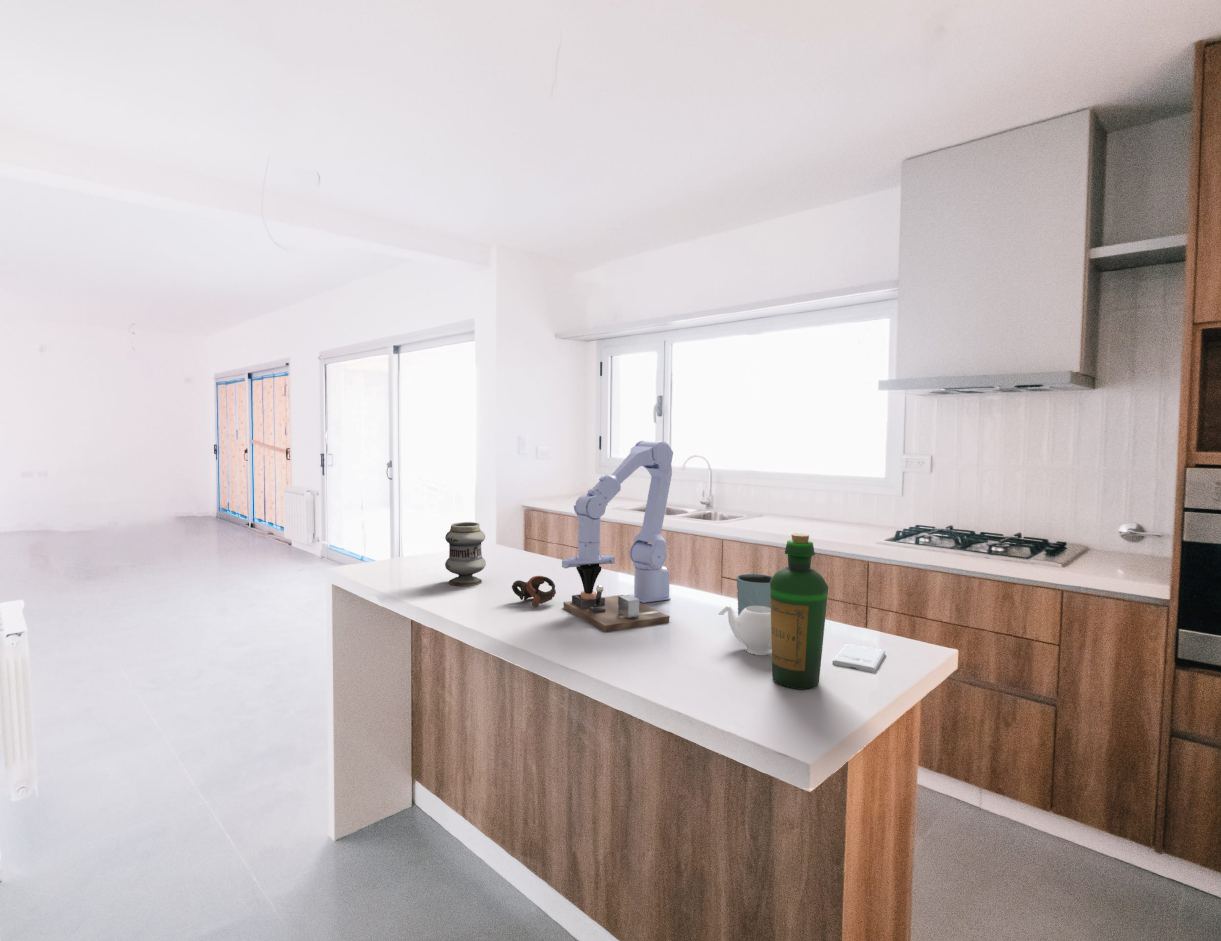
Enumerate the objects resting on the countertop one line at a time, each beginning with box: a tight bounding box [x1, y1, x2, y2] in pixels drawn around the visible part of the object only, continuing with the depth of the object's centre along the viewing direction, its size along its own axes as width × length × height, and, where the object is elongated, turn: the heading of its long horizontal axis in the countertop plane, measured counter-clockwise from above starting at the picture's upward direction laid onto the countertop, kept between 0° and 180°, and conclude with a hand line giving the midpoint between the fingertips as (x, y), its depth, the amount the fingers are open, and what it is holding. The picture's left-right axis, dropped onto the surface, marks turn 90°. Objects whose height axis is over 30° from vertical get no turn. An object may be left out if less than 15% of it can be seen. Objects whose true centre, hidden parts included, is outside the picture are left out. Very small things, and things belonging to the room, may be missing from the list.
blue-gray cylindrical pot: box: [736, 573, 773, 617], centre depth 157 cm, size 10×10×12 cm
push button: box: [580, 590, 597, 600], centre depth 170 cm, size 4×4×2 cm
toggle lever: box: [593, 585, 604, 607], centre depth 163 cm, size 2×2×6 cm
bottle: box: [770, 533, 829, 690], centre depth 123 cm, size 11×11×28 cm
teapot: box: [718, 605, 772, 656], centre depth 140 cm, size 10×20×9 cm, turn 49°
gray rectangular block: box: [618, 594, 640, 618], centre depth 160 cm, size 3×5×4 cm, turn 29°
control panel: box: [563, 593, 670, 633], centre depth 166 cm, size 18×23×4 cm
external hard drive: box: [832, 643, 886, 673], centre depth 136 cm, size 2×8×12 cm
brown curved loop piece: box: [511, 575, 557, 608], centre depth 176 cm, size 12×10×8 cm
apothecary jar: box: [444, 521, 487, 587], centre depth 198 cm, size 12×12×18 cm
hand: (588, 593), depth 170 cm, fingers closed, pressing on push button
